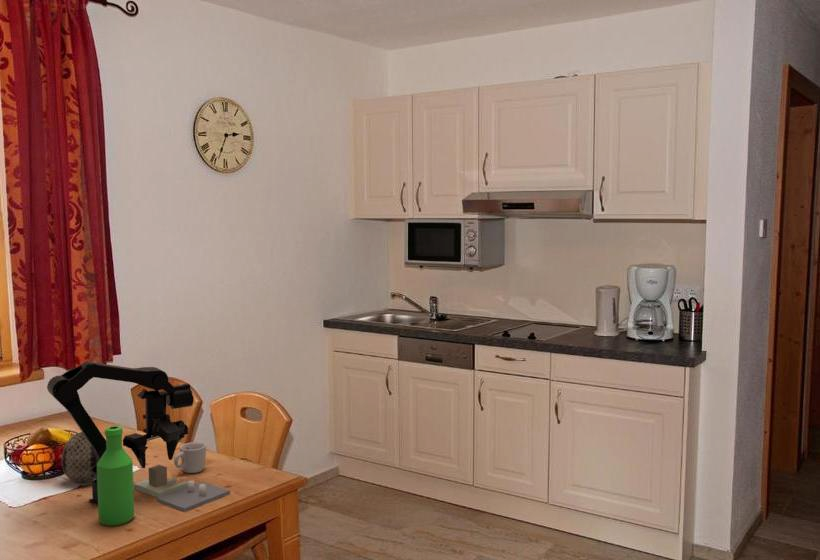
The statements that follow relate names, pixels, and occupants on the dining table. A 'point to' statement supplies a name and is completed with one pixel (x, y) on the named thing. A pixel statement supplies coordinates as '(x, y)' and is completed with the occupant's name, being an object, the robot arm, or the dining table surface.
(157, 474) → the two-prong bracket
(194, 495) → the slate board
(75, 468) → the decorative egg
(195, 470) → the cup
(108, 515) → the bottle
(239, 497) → the dining table surface
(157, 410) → the robot arm
